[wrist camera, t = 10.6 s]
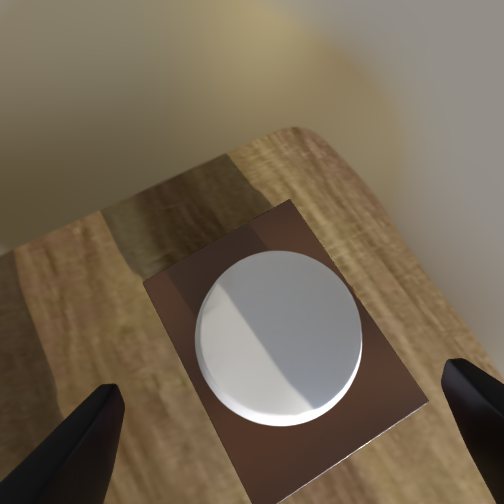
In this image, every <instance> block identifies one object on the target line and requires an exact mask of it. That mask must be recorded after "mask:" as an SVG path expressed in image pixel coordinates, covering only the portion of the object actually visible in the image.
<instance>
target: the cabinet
mask: <svg viewBox="0 0 504 504" xmlns="http://www.w3.org/2000/svg"><path fill="white" fill-rule="evenodd" d="M267 251H289V252H295V253H299V254H303V255H306V256H308V257H311V258H313V259H315V260H317V261H319V262H321V263H322V264H324V265H325V266H326V267H328V268H329V269H331V270H332V271H333V272H334V273H335V274H336V275H337V276H338V277H339V278H340V279H341V280H342V282H343V283H344V284H345V285H346V287H347V288H348V290H349V292H350V293H351V295H352V297H353V299H354V301H355V304H356V306H357V309H358V312H359V316H360V321H361V330H362V352H361V359H360V364H359V367H358V370H357V373H356V375H355V378H354V380H353V382H352V384H351V385H350V387H349V389H348V390H347V392H346V393H345V394H344V396H343V397H342V398H341V399H340V400H339V401H338V402H337V403H336V404H335V405H334V406H333V407H332V408H331V409H329V410H328V411H327V412H325V413H324V414H322V415H321V416H319V417H317V418H315V419H312V420H310V421H307V422H304V423H301V424H296V425H290V426H271V425H265V424H260V423H256V422H253V421H251V420H248V419H246V418H243V417H242V416H240V415H238V414H236V413H235V412H233V411H232V410H230V409H229V408H228V407H227V406H225V405H224V404H223V403H222V402H221V401H220V400H219V399H218V398H217V396H216V395H215V394H214V392H213V391H212V390H211V388H210V387H209V385H208V384H207V382H206V380H205V378H204V377H203V374H202V372H201V370H200V367H199V363H198V360H197V356H196V349H195V330H196V322H197V318H198V314H199V311H200V308H201V306H202V303H203V301H204V299H205V297H206V295H207V294H208V292H209V291H210V289H211V288H212V286H213V285H214V283H215V282H216V281H217V279H218V278H219V277H220V276H221V275H222V274H223V273H224V272H225V271H226V270H227V269H229V268H230V267H231V266H232V265H234V264H235V263H237V262H238V261H240V260H242V259H244V258H246V257H249V256H251V255H254V254H258V253H262V252H267ZM143 285H144V287H145V289H146V291H147V293H148V295H149V297H150V299H151V301H152V303H153V305H154V307H155V309H156V311H157V313H158V315H159V317H160V319H161V321H162V323H163V325H164V327H165V329H166V331H167V333H168V335H169V337H170V339H171V341H172V343H173V345H174V347H175V349H176V351H177V353H178V355H179V357H180V360H181V362H182V364H183V366H184V368H185V370H186V372H187V374H188V376H189V378H190V380H191V382H192V384H193V386H194V388H195V390H196V392H197V394H198V396H199V398H200V400H201V402H202V404H203V406H204V408H205V410H206V412H207V414H208V416H209V418H210V420H211V422H212V424H213V426H214V428H215V430H216V432H217V434H218V436H219V438H220V440H221V442H222V444H223V446H224V448H225V450H226V452H227V454H228V456H229V458H230V460H231V462H232V464H233V466H234V468H235V470H236V472H237V474H238V476H239V478H240V480H241V482H242V484H243V486H244V488H245V490H246V492H247V494H248V496H249V498H250V500H251V503H252V504H279V503H280V502H282V501H283V500H285V499H286V498H288V497H289V496H291V495H292V494H293V493H295V492H296V491H298V490H299V489H301V488H302V487H304V486H305V485H307V484H308V483H310V482H311V481H313V480H314V479H316V478H317V477H319V476H320V475H322V474H323V473H325V472H326V471H328V470H329V469H331V468H332V467H334V466H335V465H337V464H338V463H340V462H341V461H343V460H344V459H345V458H347V457H348V456H350V455H351V454H353V453H354V452H356V451H357V450H359V449H360V448H362V447H363V446H365V445H366V444H368V443H369V442H371V441H372V440H374V439H375V438H377V437H378V436H380V435H381V434H383V433H384V432H386V431H387V430H389V429H390V428H392V427H393V426H394V425H396V424H397V423H399V422H400V421H402V420H403V419H405V418H406V417H408V416H409V415H411V414H412V413H414V412H415V411H417V410H418V409H420V408H421V407H423V406H424V405H426V404H427V403H429V400H428V399H427V397H426V396H425V394H424V393H423V391H422V390H421V389H420V387H419V386H418V384H417V383H416V381H415V380H414V378H413V377H412V375H411V374H410V373H409V371H408V370H407V368H406V367H405V365H404V364H403V362H402V361H401V360H400V358H399V357H398V355H397V354H396V352H395V351H394V349H393V348H392V346H391V345H390V344H389V342H388V341H387V339H386V338H385V336H384V335H383V333H382V332H381V330H380V329H379V328H378V326H377V325H376V323H375V322H374V320H373V319H372V317H371V316H370V315H369V313H368V312H367V310H366V309H365V307H364V306H363V304H362V303H361V301H360V300H359V298H358V295H357V293H356V292H355V290H354V289H353V288H352V287H351V286H350V285H349V284H348V283H347V281H346V280H345V278H344V277H343V275H342V274H341V272H340V271H339V270H338V268H337V267H336V265H335V264H334V262H333V261H332V259H331V258H330V256H329V255H328V254H327V252H326V251H325V249H324V248H323V246H322V245H321V243H320V242H319V240H318V239H317V238H316V236H315V235H314V233H313V232H312V230H311V229H310V227H309V226H308V225H307V223H306V222H305V220H304V219H303V217H302V216H301V214H300V213H299V211H298V210H297V209H296V207H295V206H294V204H293V203H292V201H291V200H290V199H288V200H287V201H285V202H283V203H281V204H280V205H278V206H276V207H274V208H273V209H271V210H269V211H267V212H266V213H264V214H262V215H260V216H258V217H257V218H255V219H253V220H251V221H250V222H248V223H246V224H244V225H243V226H241V227H239V228H237V229H235V230H234V231H232V232H230V233H228V234H227V235H225V236H223V237H221V238H220V239H218V240H216V241H214V242H212V243H211V244H209V245H207V246H205V247H204V248H202V249H200V250H198V251H197V252H195V253H193V254H191V255H190V256H188V257H186V258H184V259H182V260H181V261H179V262H177V263H175V264H174V265H172V266H170V267H168V268H167V269H165V270H163V271H161V272H159V273H158V274H156V275H154V276H152V277H151V278H149V279H147V280H145V281H144V282H143Z"/></svg>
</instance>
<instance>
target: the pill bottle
mask: <svg viewBox="0 0 504 504" xmlns="http://www.w3.org/2000/svg"><path fill="white" fill-rule="evenodd" d="M195 349H196V356H197V360H198V363H199V367H200V370H201V372H202V374H203V377H204V378H205V380H206V382H207V384H208V385H209V387H210V388H211V390H212V391H213V392H214V394H215V395H216V396H217V398H218V399H219V400H220V401H221V402H222V403H223V404H224V405H225V406H227V407H228V408H229V409H230V410H232V411H233V412H235V413H236V414H238V415H240V416H242V417H243V418H246V419H248V420H251V421H253V422H256V423H260V424H265V425H271V426H290V425H296V424H301V423H304V422H307V421H310V420H312V419H315V418H317V417H319V416H321V415H322V414H324V413H325V412H327V411H328V410H329V409H331V408H332V407H333V406H334V405H335V404H336V403H337V402H338V401H339V400H340V399H341V398H342V397H343V396H344V394H345V393H346V392H347V390H348V389H349V387H350V385H351V384H352V382H353V380H354V378H355V375H356V373H357V370H358V367H359V364H360V359H361V352H362V330H361V321H360V316H359V312H358V309H357V306H356V304H355V301H354V299H353V297H352V295H351V293H350V292H349V290H348V288H347V287H346V285H345V284H344V283H343V282H342V280H341V279H340V278H339V277H338V276H337V275H336V274H335V273H334V272H333V271H332V270H331V269H329V268H328V267H326V266H325V265H324V264H322V263H321V262H319V261H317V260H315V259H313V258H311V257H308V256H306V255H303V254H299V253H295V252H289V251H267V252H262V253H258V254H254V255H251V256H249V257H246V258H244V259H242V260H240V261H238V262H237V263H235V264H234V265H232V266H231V267H230V268H229V269H227V270H226V271H225V272H224V273H223V274H222V275H221V276H220V277H219V278H218V279H217V281H216V282H215V283H214V285H213V286H212V288H211V289H210V291H209V292H208V294H207V295H206V297H205V299H204V301H203V303H202V306H201V308H200V311H199V314H198V318H197V322H196V330H195Z"/></svg>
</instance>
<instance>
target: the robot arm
mask: <svg viewBox="0 0 504 504" xmlns="http://www.w3.org/2000/svg"><path fill="white" fill-rule="evenodd" d="M441 386H442V389H443V392H444V394H445V397H446V399H447V401H448V404H449V406H450V409H451V411H452V414H453V416H454V418H455V421H456V423H457V426H458V428H459V431H460V433H461V435H462V438H463V440H464V442H465V444H466V447H467V449H468V451H469V453H470V455H471V457H472V458H473V460H474V462H475V464H476V466H477V468H478V470H479V472H480V473H481V475H482V477H483V479H484V481H485V483H486V485H487V487H488V488H489V490H490V492H491V494H492V496H493V498H494V500H495V502H496V504H504V384H503V383H501V382H500V381H498V380H497V379H495V378H493V377H492V376H490V375H489V374H487V373H486V372H484V371H483V370H481V369H480V368H478V367H477V366H475V365H474V364H472V363H470V362H469V361H467V360H466V359H463V358H457V359H448V360H447V361H446V363H445V367H444V371H443V375H442V379H441ZM124 412H125V404H124V401H123V398H122V395H121V393H120V390H119V388H118V386H117V385H116V384H114V383H113V384H102V385H100V386H99V387H98V388H97V389H96V390H94V391H93V392H92V393H91V394H90V395H89V396H88V397H87V398H86V399H85V400H84V401H83V402H82V403H81V404H80V405H79V406H78V407H77V408H76V409H75V410H74V411H73V412H72V413H71V414H70V415H69V416H68V417H67V418H66V419H65V420H64V421H63V422H62V423H61V424H60V425H59V426H58V427H57V428H56V429H55V430H54V431H53V432H52V433H51V434H50V435H49V436H48V437H47V438H46V439H45V440H44V441H42V442H41V443H40V444H39V445H38V446H37V447H36V448H35V449H34V450H33V451H32V452H31V453H30V454H29V455H28V456H27V457H26V458H25V459H24V460H23V461H22V462H21V463H20V464H19V465H18V466H17V467H16V468H15V469H14V470H13V471H12V472H11V473H10V474H9V475H8V476H7V477H6V478H5V479H4V480H3V481H2V482H1V483H0V504H103V502H104V499H105V495H106V492H107V489H108V486H109V482H110V479H111V475H112V472H113V468H114V463H115V458H116V453H117V448H118V443H119V438H120V433H121V428H122V422H123V417H124Z"/></svg>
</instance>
